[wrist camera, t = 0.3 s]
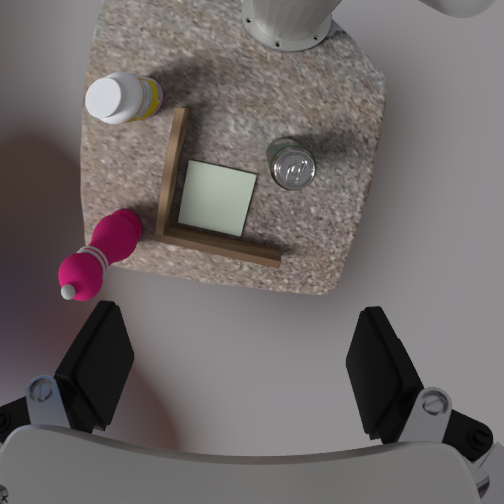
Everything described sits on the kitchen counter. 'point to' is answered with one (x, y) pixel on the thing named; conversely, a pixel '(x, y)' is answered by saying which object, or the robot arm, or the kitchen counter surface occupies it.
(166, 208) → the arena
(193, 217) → the pad
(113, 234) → the pepper mill
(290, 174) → the soda can
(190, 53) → the kitchen counter surface
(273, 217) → the kitchen counter surface
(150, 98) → the supplement bottle
